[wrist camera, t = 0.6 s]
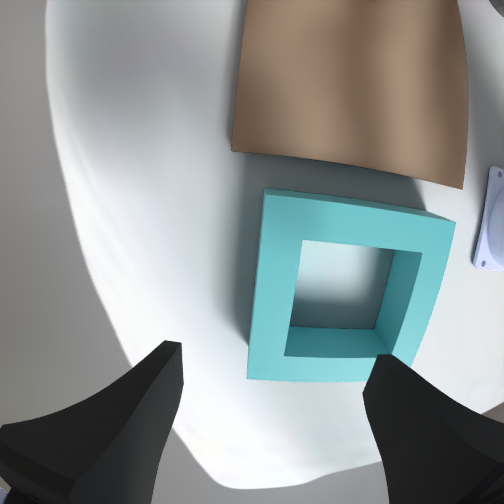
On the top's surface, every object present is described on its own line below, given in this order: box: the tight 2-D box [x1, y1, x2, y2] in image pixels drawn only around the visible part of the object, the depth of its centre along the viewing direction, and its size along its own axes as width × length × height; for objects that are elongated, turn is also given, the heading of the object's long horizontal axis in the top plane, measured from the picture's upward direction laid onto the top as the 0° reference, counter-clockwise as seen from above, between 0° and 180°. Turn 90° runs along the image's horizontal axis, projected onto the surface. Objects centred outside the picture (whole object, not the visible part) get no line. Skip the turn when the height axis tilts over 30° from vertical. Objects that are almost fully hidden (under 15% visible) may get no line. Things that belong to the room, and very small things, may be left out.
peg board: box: [231, 0, 468, 190], centre depth 11 cm, size 15×19×6 cm
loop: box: [247, 188, 456, 382], centre depth 17 cm, size 11×11×4 cm
